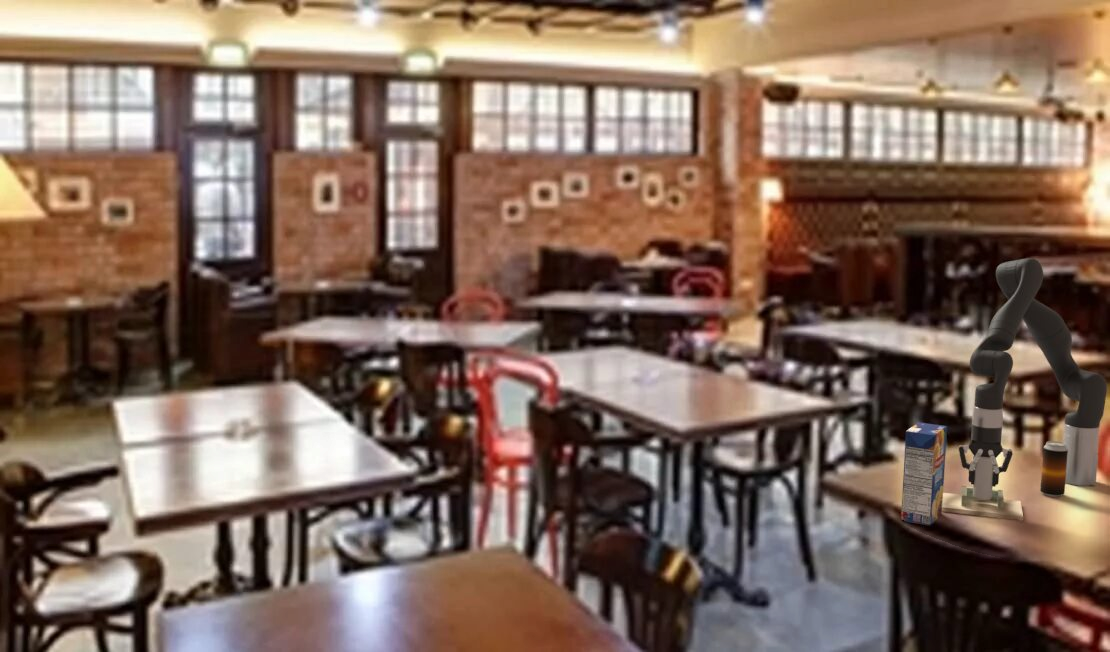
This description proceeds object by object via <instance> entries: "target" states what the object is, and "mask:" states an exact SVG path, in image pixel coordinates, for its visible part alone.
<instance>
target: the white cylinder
mask: <svg viewBox="0 0 1110 652" xmlns="http://www.w3.org/2000/svg"><path fill="white" fill-rule="evenodd" d="M977 457H978V456H977ZM976 460H977V459H976ZM974 471H975V473H974V485H973V484H972V485H973V486H972V487H973V497H974V498H975V499H978V500H983V501H987V500H990V499H991V498H992V489H994V488H993V473H994V469H993V466H992V460H991V458H990V457H981V456H979V459H978V462H977V464H976V466H975V468H974Z"/></svg>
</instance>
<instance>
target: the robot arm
mask: <svg viewBox="0 0 1110 652" xmlns="http://www.w3.org/2000/svg"><path fill="white" fill-rule="evenodd" d="M995 277H996V282H997V284H998V286H999V288H1000V289H1001V292H1002V293H1003V294H1004V295H1005V297H1006V298H1007V302H1006V303H1004V304H1003V305H1002V306H1001V308H999V309H998V310H997V312H996V313H995V315H994V316H993V317H992V319H991V321H990V324H989V327H988V329H987V333H986V334H985V337H984V338H983V339H982V340H981V342H979V343H980V344H978V345H977V347H976V348H975V349H974V350H973V352H972V354H971V356H970V359H969V368H970V371H971V372H972V373H973V374H974V375H976V376H977V375H978V376H983V377H991V378H995V380H994V382H993V383H982V384H979V385H977V386H976V388H975V391H974V393H975V394H974V407H973V412H972V418H971V435H970V437H971V438H970V442H969V443H968V444H964V445H963V444H960V445H958V452H959V457H960V463H961V466H962V469H966V470H968V482H969V483H970V485H974V473H975V471H974V470H975V466H976V464H977V462H978V459H979V456H981V457H990V458H991V460H992V466H993V469H994V473H993V487H996V486H997V485H999V480H1000V473H1005V472H1007V471H1008V468H1009V466H1010V465H1009V464H1010V462H1011V459H1012V457H1013V449H1011V448H1009V449H1007V448H1005V447H1004V448H1003V446H1002V436H1003V435H1002V433H1003V425H1004V421H1003V420H1004V413H1003V405H1004V395H1005V394H1004V393H1005V390H1006V386H1007V383H1008V379H1009V378H1010V375H1011V372H1012V369H1013V366H1014V360H1013V356H1012V355H1011V353H1010V352H1007V351H1009V350H1010V349H1011V348H1012V347H1013V344H1014V341H1015V339H1016V335H1017V333H1018V330H1019V327H1020V324H1021V322H1022V320H1023V322H1024V324H1025V325H1026V327H1027V329H1028V331H1029V332H1030V335H1031V337H1032V338H1033V340H1034V341H1035V343H1036V344H1037V346H1038V348H1039V349H1040V350H1041V352H1042V354H1043V356H1044V357H1045V359H1046V360H1047V362H1048V364H1049V366H1050V367H1051V369H1052V372H1053V374H1054V376H1055V379H1056V381H1057V383H1058V386H1059V388H1060V389H1061V391H1062V393H1063V394H1064V396H1065V397H1067V398H1068V399H1070V400H1073V401H1076V402H1078V407H1077V409H1076V411H1071V412H1068V413H1066V414H1065V416H1064V424H1063V425H1064V426H1063V437H1062V438H1063V441H1062V443H1065V444H1066V447H1067V449H1068V455H1067V467H1066V480H1065V484H1069V485H1074V486H1087V487H1088V486H1095V487H1096V485H1097V473H1098V462H1099V453H1098V449H1099V448H1098V446H1099V438H1100V437H1099V436H1100V435H1099V433H1100V424H1101V420H1102V418H1103V416H1104V413H1105V404H1106V400H1107V399H1106V398H1107V390H1108V389H1107V386H1108V385H1107V382H1106V379H1105V377H1104V376H1103V375H1101V374H1100V373H1096V372H1094V371H1088V370H1085V369H1082V368H1080V366H1079V365H1078V363H1077V362H1076V361H1075V359H1074V358H1073V356H1072V353H1071V351H1072V345H1073V344H1072V343H1073V338H1072V334H1071V331H1070V329H1069V328H1068V327H1067V324H1066V323H1065V320H1064V319H1063V317H1062V316H1061V315H1060V314H1059V313H1057V311H1055V310H1053V309H1052V308H1050V307H1048V306H1047V305H1045V304H1044V303H1042V302H1040V301H1039V300H1037V299H1035V297H1036V295H1037V293H1038V292H1039V290H1040V288H1041V286H1042V283H1043V280H1044V270H1043V266H1042V264H1041V263H1040V262H1039V260H1038V259H1036V258H1033V257H1026V258H1021V259H1016V260H1010V261H1005V262H1002V263H1000V264H999V265H998V266H997V267H996V269H995ZM968 450H969V451H970V453H972V455H973V456H972V459H971V461H970V463H968V462H967V458H966V454H967V453H968ZM1001 453H1002V454H1003V455H1002V456H1003V457H1004V459H1003V463H1002V465H1000V466H999V464H998V462H997V458H998V456H999V455H1000V454H1001ZM977 456H978V457H977ZM976 459H977V460H976Z"/></svg>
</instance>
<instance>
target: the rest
mask: <svg viewBox="0 0 1110 652" xmlns="http://www.w3.org/2000/svg"><path fill="white" fill-rule="evenodd" d="M943 512H945V513H953V514H961V515H969V514H970V515H971V516H978V515H980V516H979V517H986V516H989V517H988V518H995V517H998V518H997V519H1004V518H1007V519H1006V520H1013V519H1018V520H1017V521H1022V520H1023V521H1024V515H1023V507H1022V501H1021V500H1014V499H1007V498H1006V499H1004V491H1003V490H1002V489H995V488H992V498H991V499H990V500H987V501H983V500H978V499H975V498H974V497H973V486H965V485H962V486H961V494H959V493H951V492H950V493H948V492H943V501H942V513H943Z"/></svg>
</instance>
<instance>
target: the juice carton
mask: <svg viewBox="0 0 1110 652" xmlns="http://www.w3.org/2000/svg"><path fill="white" fill-rule="evenodd" d="M947 433H948V426H947V425H940V424H932V423H925V422H917V423H916V424H914V425H913V426H911V427H910V428H908V429H907V430H906V431H905V444H904V460H903V476H902V478H903V479H902V493H901V494H902V497H901V508H900V510H901V513H900V520H901V519H902V520H904V521H903V522H908V523H914V524H918V525H919V524H920V525H923V526H931V525H933V524H934V522H935V521H937V519H938V518H940V516H942V513H943V512H942V502H943V493H944V482H945V467H946V466H945V465H946V455H947V454H946V453H947V452H946V451H947V435H948V434H947ZM902 520H901V521H902Z"/></svg>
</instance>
